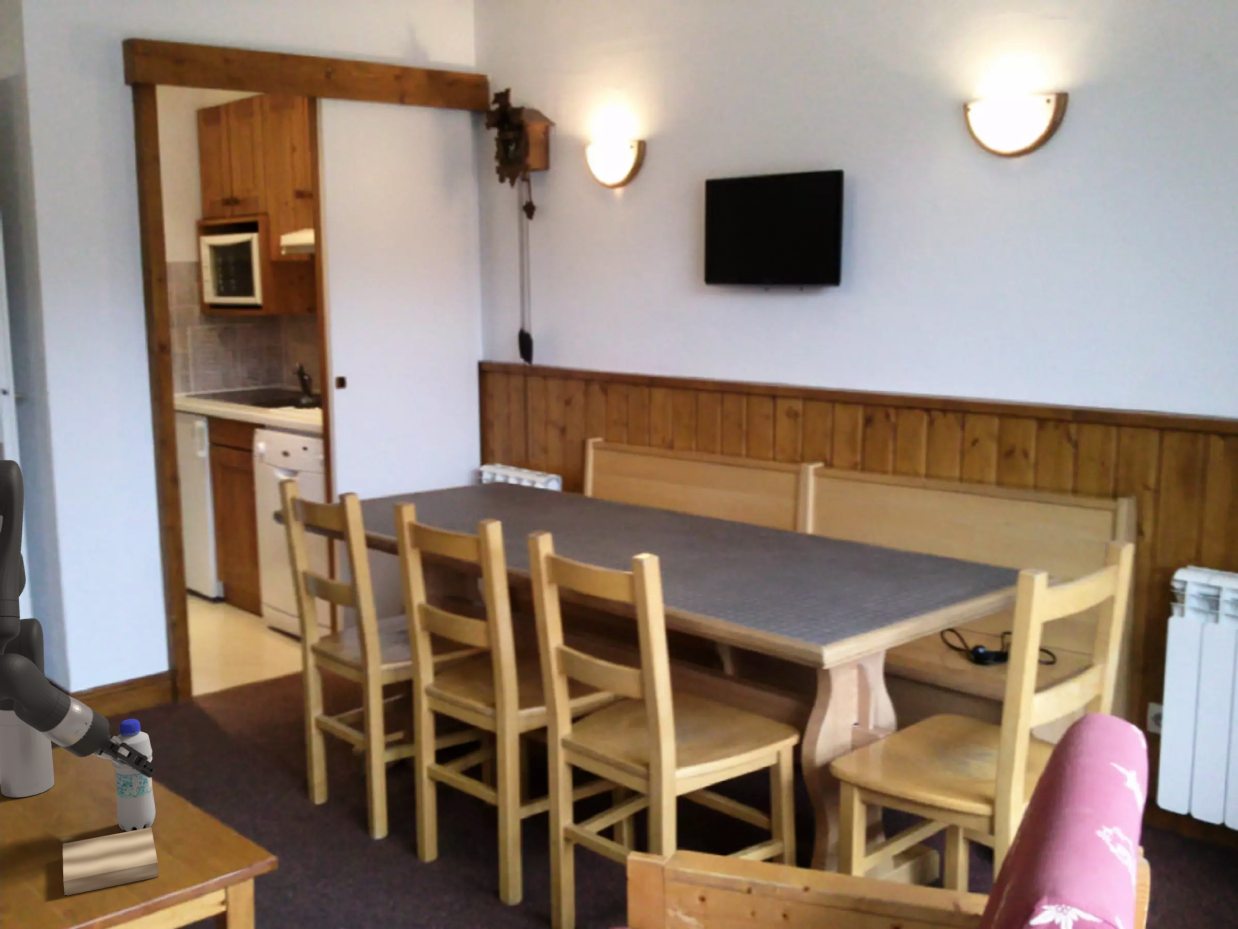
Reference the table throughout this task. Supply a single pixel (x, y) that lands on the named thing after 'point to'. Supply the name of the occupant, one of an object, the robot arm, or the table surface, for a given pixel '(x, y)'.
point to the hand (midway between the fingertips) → (138, 767)
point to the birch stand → (109, 861)
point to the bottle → (134, 782)
